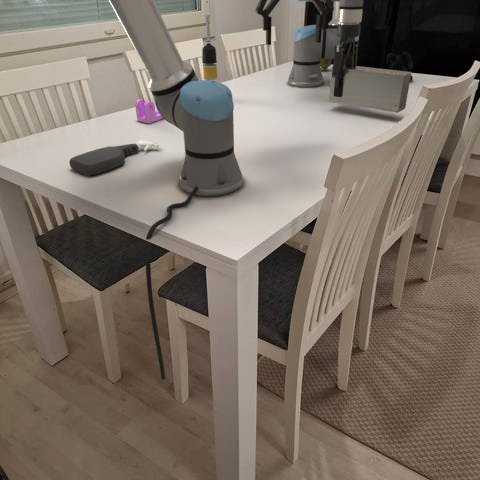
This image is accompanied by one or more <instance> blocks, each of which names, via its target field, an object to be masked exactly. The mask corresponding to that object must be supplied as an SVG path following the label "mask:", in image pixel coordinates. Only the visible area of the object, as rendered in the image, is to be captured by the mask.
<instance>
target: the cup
mask: <svg viewBox="0 0 480 480" xmlns="http://www.w3.org/2000/svg"><path fill="white" fill-rule="evenodd" d="M332 64H333V59H320V68H321V72H327V71H328V70H329V67H331V65H332Z"/></svg>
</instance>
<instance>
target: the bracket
mask: <svg viewBox="0 0 480 480" xmlns="http://www.w3.org/2000/svg"><path fill="white" fill-rule="evenodd" d="M134 105H135V113H136V120H137V122H141V123H144V124H152V123H155V122H157V121H160V120H164V118H163V117H162V116H161V115H160V113H159V112H158V110H157V109H156V106H155V102H153V101H150V100H147V101H146V100H145V99H141V98H138V99H137V100H136V101H135V104H134Z"/></svg>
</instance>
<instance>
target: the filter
mask: <svg viewBox="0 0 480 480" xmlns="http://www.w3.org/2000/svg"><path fill="white" fill-rule="evenodd" d="M210 17H211V14H204V18H205V27H206V29H205V30H206V31H205V33H206V39H207V40H206V42H207V43H206V45H204V46H202V49H201V50H202V51H201V52H202V54H201V55H202V57H201V58H202V61H201V63H202V71H203V72H202V73H203V74H202V75H203V80H208V81H212V82H216V80H218V64H216V63H218V61H217V48H216V47H215V46H214V45H212V43H210V42H211V40H210V39H211V31H210V29H211V28H210Z"/></svg>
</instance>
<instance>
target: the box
mask: <svg viewBox="0 0 480 480" xmlns="http://www.w3.org/2000/svg"><path fill="white" fill-rule="evenodd" d="M330 69H331V70H330V82H329V92H328V102H329V103H335V104H336V103H337V104H340V105H341V104H342V105H349V106H354V107H360V108H366V109H372V110H379V111H385V112H391V113H397V114H399V113H401V112H402V111H403V110H406V108H407V107H406V106H407V100H408V95H409V89H410V83H411V80H410V78H411V75H412V73H413V72H412V71H408V72H406V71H402V70H399V71H397V70H392V69H387V68H377V67H368V66H359V65H357V66H351V65H346V64H345V66H344V71H343V75H342V78H343V86H342V95H341V97H335V96H334V85H335V77H332V70H333V66H331V68H330Z"/></svg>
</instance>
